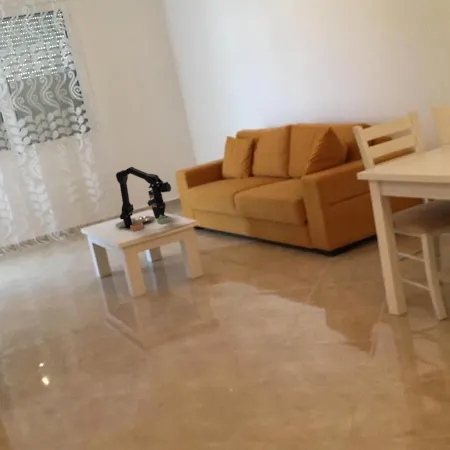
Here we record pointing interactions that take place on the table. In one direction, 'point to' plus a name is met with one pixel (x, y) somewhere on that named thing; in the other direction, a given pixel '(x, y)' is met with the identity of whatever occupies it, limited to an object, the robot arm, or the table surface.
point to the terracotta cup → (136, 226)
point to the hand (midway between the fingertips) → (162, 214)
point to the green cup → (163, 220)
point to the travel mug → (154, 206)
